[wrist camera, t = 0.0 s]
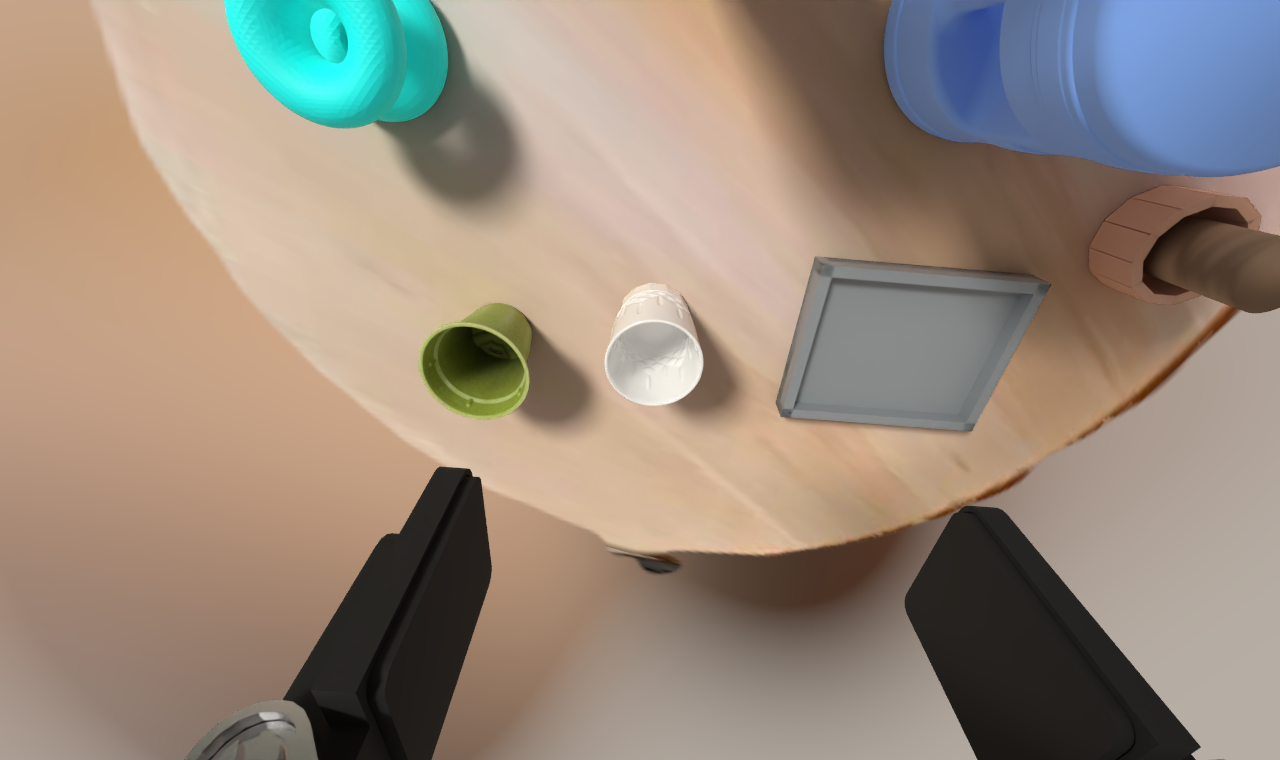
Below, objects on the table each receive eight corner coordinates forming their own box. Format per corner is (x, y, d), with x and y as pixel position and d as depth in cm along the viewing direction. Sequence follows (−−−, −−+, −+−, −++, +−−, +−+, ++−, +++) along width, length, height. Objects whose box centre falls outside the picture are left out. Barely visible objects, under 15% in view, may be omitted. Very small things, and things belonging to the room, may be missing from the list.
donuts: (181, 27, 28) (258, -142, 24) (292, 41, 36) (361, -82, 33) (339, 165, 31) (427, 37, 28) (406, 149, 40) (480, 49, 36)
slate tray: (815, 256, 44) (823, 265, 42) (1031, 274, 44) (1051, 284, 42) (775, 403, 52) (780, 416, 50) (958, 417, 52) (971, 431, 50)
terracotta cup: (1125, 181, 40) (1176, 191, 36) (1226, 190, 40) (1287, 201, 36) (1069, 281, 44) (1109, 299, 40) (1160, 289, 44) (1209, 308, 41)
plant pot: (446, 353, 50) (410, 399, 42) (464, 270, 45) (427, 306, 38) (534, 383, 51) (514, 432, 44) (560, 306, 47) (542, 347, 39)
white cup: (628, 264, 44) (622, 306, 36) (707, 292, 46) (719, 339, 37) (603, 336, 48) (592, 390, 40) (676, 360, 50) (681, 417, 41)
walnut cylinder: (1139, 207, 40) (1271, 239, 32) (1197, 212, 40) (1344, 245, 32) (1105, 266, 43) (1217, 310, 34) (1160, 270, 43) (1286, 315, 34)
